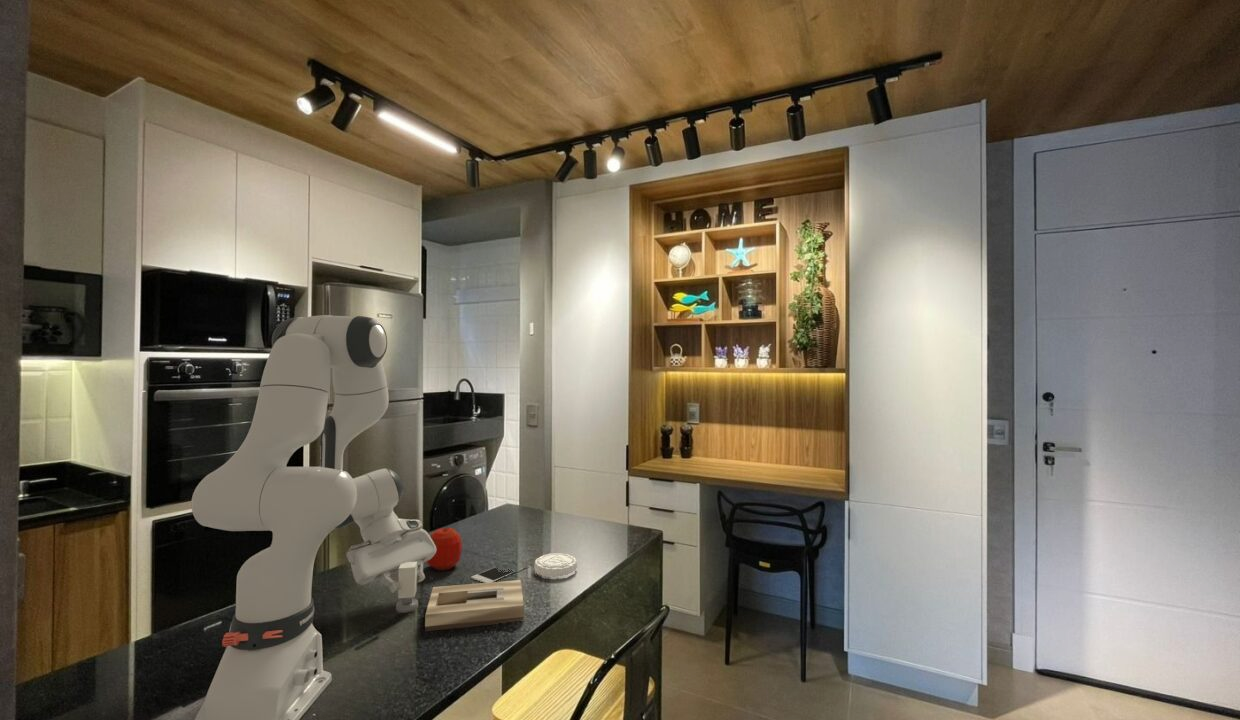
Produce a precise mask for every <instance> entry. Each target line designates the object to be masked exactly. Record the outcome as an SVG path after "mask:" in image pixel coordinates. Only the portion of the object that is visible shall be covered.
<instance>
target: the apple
mask: <svg viewBox="0 0 1240 720" xmlns="http://www.w3.org/2000/svg"><path fill="white" fill-rule="evenodd" d="M429 535H430V537H431V539H432V540H433V542H434V544H435V546H436V554H435V555H434V556H433V557H432V558H431V559H430V560H428V561H426V564H427V565H429V566H430V567H432V568H433V569H435V570H437V571H446V570H449V569H452V568H453V567H455V565H456V564H457V563H458V562H460V559H461V555H462V550H463V544H462V537H461V535H460V533H459V532H458V531H457V530H455V529H453V528H452V527H446V526H444V527H443V528H439V529H437V530H435V531H434V532H433V533H431V534H429Z"/></svg>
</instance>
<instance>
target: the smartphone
mask: <svg viewBox="0 0 1240 720" xmlns="http://www.w3.org/2000/svg"><path fill="white" fill-rule="evenodd" d="M497 569H498V568H497ZM497 569H496V566H495V567H491V568H489V569H487V570H484V571H482V572H480V573H476V574H475V575H472V576H471V577H470V579H471V580H474V581H476V580H477V581H476V582H479V581H480V582H479V583H481V582H483V583H490V582H494V581H496V580H498V579H500V578H502V577H504V576H507V575H508V574H511V573H512V572H513V571H512V570H511V571H512V572H511V571H510V570H509V569H508V570H509V571H510V572H509V571H508V572H504V571H505V570H504V571H503V570H502V571H503V572H504V573H503V572H502V571H501V570H500V571H501V572H498V570H497ZM514 572H515V571H514Z"/></svg>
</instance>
